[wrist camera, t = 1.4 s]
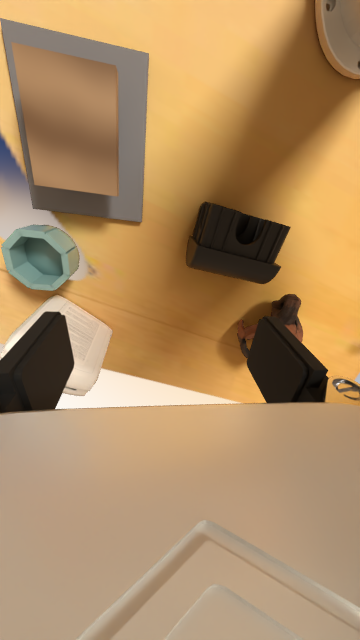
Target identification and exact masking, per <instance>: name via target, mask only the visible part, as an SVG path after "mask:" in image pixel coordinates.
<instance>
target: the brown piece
mask: <svg viewBox="0 0 360 640" xmlns="http://www.w3.org/2000/svg"><path fill="white" fill-rule="evenodd" d="M300 305H301V300H300V299H299V298H298V297H297V296H296V295H295V294H287V295H285V296H283V297H282V298H281V299H280V300H278V301H273V302H272V308H273V309H272V312H271V317H277V318H278V319H279V320H280V321H281V322H282V323H283V324H284V325H285V326H286V327H287V328H288V329H289V330H290V332H291V333H292V334H293V335H294V336H295V337H296V338H297V339H298V340H299V341H300V342H302V337H303V330H302V326H301V323H300V321H299V319H298V316H297V313H298V310H299V307H300ZM257 325H258V324H255V325H251V326H248V327H246V328H244V326H243V320H242V319H241V320H240V322H239V324H238V333H237V336H238V339H239V342H240V347H241V350H242V353H243V354H244V356H245V357H246V358H248V356H249V352H250V350H249V349H248V348H247V346H246V340H245V339H248V340H250V339H252V338H254V335H255V332H256V328H257Z"/></svg>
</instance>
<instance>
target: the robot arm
mask: <svg viewBox="0 0 360 640" xmlns="http://www.w3.org/2000/svg"><path fill="white" fill-rule="evenodd" d="M315 15H316V26H317V33H318V37H319V41H320V45H321V47H322V50H323V52H324V54H325V56H326V58H327V60H328V61H329V62H330V64H331V65H332V66H333V68H334V69H335V70H337V71H338V72H339V73H341V74H342V75H344V76H347V77H350V78H352V79H360V0H315ZM247 366H248V368H249V370H250V372H251V374H252V376H253V378H254V380H255V382H256V384H257V385H258V387H259V389H260V391H261V393H262V395H263V397H264V399H265V400H266V402H267V403H245V404H205V405H173V406H172V405H171V406H141V407H140V406H137V407H109V408H82V409H81V408H79V409H55V408H56V406H57V403H58V401H59V399H60V397H61V394H62V392H63V390H64V388H65V386H66V384H67V381H68V379H69V377H70V375H71V373H72V371H73V368H74V357H73V352H72V347H71V342H70V337H69V332H68V327H67V322H66V317H65V315H61V313H60V312H51V311H45V312H44V313H43V314H42V315H41V316H40V317H39V318H38V320H37V321H36V322H35V323H34V324H33V325H32V326H31V327H30V328H29V329H28V330H27V332H26V333H25V334H24V335H23V336H22V337H21V338H20V339H19V340H18V341H17V343H16V344H15V345H14V346H13V347H12V348H11V349H10V350H9V351H8V352H7V354H6V355H5V356H4V357H3V358H2V359H1V360H0V640H360V384H358V383H357V382H355V381H353V380H351V379H349V378H346V377H342V376H332V377H330V378H328V377H327V376H326V373H327V372H328V370H327V369H326V368H325V366H324V365H323V364H322V363H321V362H320V361H319V360H318V359H317V358H316V357H315V356H314V355H313V354H312V353H311V352H310V351H309V350H308V349H307V348H306V347H305V346H304V345H303V344H302V343H301V342H300V341H299V340H298V339H297V338H296V337H295V336H294V335H293V334H292V333H291V332H290V330H289V329H288V328H287V327H286V326H285V325H284V324H283V323H282V322H281V321H280V320H279V319H278V318H277V317H271V316H264V317H263V318H262V319H260V320H259V322H258V325H257V328H256V332H255V335H254V339H253V342H252V345H251V349H250V352H249V356H248V359H247Z"/></svg>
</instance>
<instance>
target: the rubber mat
mask: <svg viewBox="0 0 360 640" xmlns="http://www.w3.org/2000/svg"><path fill="white" fill-rule="evenodd" d="M0 21H1V27H2V32H3V38H4V44H5V50H6V55H7V61H8V67H9V73H10V78H11V84H12V90H13V96H14V102H15V107H16V113H17V119H18V125H19V130H20V136H21V142H22V148H23V153H24V159H25V165H26V171H27V176H28V182H29V188H30V194H31V200H32V205H33V209H41V210H49V211H57V212H65V213H73V214H81V215H88V216H96V217H104V218H112V219H120V220H128V221H136V222H142V207H143V183H144V159H145V135H146V111H147V86H148V62H149V53H145V52H141V51H136V50H132V49H128V48H124V47H119V46H115V45H111V44H107V43H103V42H98V41H94V40H90V39H86V38H82V37H77V36H73V35H69V34H65V33H61V32H56V31H52V30H48V29H44V28H40V27H35V26H31V25H27V24H23V23H18V22H14V21H10V20H6V19H2V18H0ZM11 42H14V43H18V44H23V45H27V46H32V47H36V48H40V49H45V50H49V51H54V52H58V53H63V54H67V55H72V56H76V57H80V58H85V59H89V60H94V61H98V62H103V63H107V64H112V65H116V68H117V71H118V128H119V196H110V195H103V194H96V193H89V192H81V191H74V190H67V189H60V188H53V187H46V186H39V185H34V178H33V172H32V166H31V160H30V154H29V148H28V142H27V136H26V129H25V123H24V117H23V111H22V105H21V99H20V93H19V86H18V80H17V74H16V68H15V62H14V56H13V50H12V43H11Z"/></svg>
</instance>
